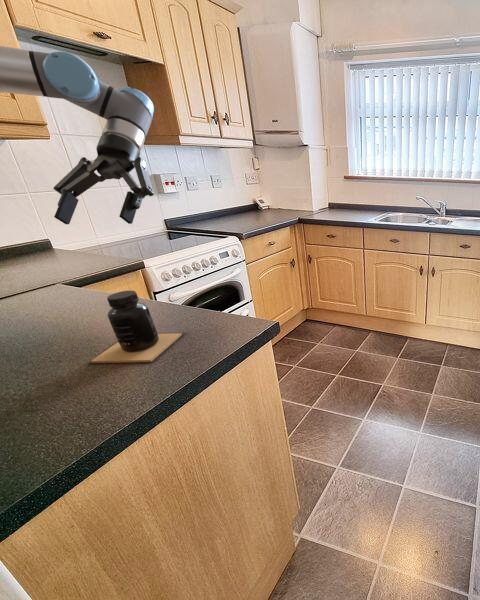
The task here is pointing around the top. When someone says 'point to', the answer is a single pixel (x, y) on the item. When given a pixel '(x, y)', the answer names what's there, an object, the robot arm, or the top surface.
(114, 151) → the robot arm
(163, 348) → the cork mat
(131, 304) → the supplement bottle
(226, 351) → the top surface
